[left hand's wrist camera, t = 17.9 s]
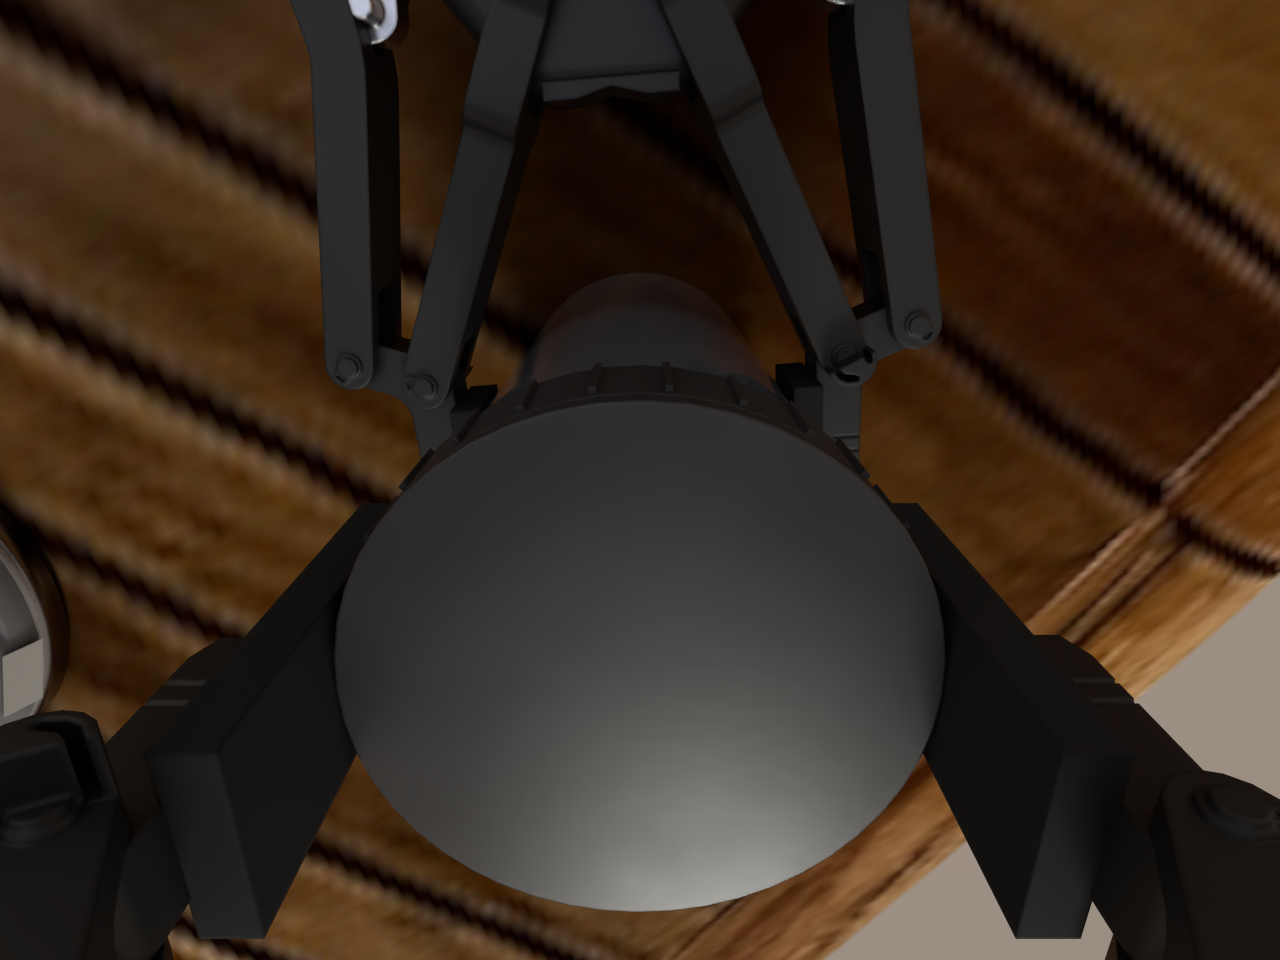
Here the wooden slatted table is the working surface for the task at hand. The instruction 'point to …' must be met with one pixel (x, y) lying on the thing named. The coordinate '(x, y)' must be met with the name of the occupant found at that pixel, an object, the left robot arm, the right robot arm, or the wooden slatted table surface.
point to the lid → (639, 642)
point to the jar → (639, 334)
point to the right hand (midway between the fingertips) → (651, 594)
